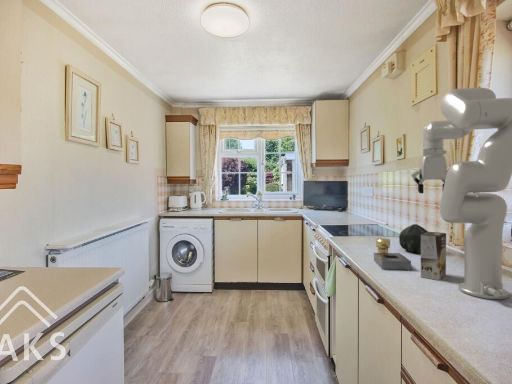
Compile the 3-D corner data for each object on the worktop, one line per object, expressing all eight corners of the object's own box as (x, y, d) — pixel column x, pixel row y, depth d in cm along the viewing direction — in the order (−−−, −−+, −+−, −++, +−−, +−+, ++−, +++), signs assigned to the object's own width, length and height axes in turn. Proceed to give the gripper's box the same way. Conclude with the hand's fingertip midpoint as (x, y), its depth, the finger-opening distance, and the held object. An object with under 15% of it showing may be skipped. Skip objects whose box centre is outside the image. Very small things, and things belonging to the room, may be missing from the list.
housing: (411, 270, 120) (411, 261, 120) (382, 269, 122) (382, 260, 121) (399, 260, 134) (399, 253, 134) (373, 260, 135) (373, 252, 135)
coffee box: (439, 280, 107) (439, 236, 106) (420, 277, 111) (420, 234, 111) (446, 274, 113) (446, 232, 113) (427, 271, 118) (427, 231, 117)
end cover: (391, 259, 137) (391, 240, 137) (378, 258, 138) (377, 240, 138) (387, 255, 143) (387, 238, 143) (374, 255, 144) (374, 238, 144)
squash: (418, 236, 160) (404, 217, 157) (443, 243, 146) (429, 221, 142) (402, 256, 158) (387, 236, 154) (426, 264, 144) (411, 243, 140)
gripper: (450, 153, 132) (450, 192, 132) (408, 155, 134) (408, 193, 135) (459, 152, 124) (459, 193, 125) (415, 153, 127) (415, 193, 127)
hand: (433, 193), depth 130 cm, fingers open, 9 cm apart
